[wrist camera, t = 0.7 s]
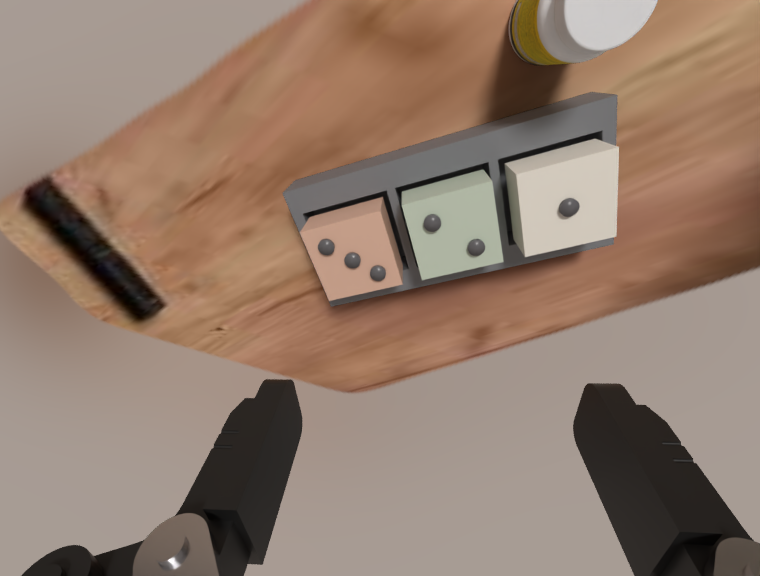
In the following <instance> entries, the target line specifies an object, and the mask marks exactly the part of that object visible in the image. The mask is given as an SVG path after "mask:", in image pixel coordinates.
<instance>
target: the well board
mask: <svg viewBox="0 0 760 576" xmlns="http://www.w3.org/2000/svg"><path fill="white" fill-rule="evenodd" d="M616 127H617V95H614V94H605V93H597V92H590V93H586V94H583V95H579V96H576V97H573V98H569V99H566V100H563V101H559V102H556V103H553V104H549V105H546V106H543V107H539V108H536V109H533V110H529V111H526V112H523V113H519V114H516V115H513V116H509V117H506V118H502V119H499V120H496V121H492V122H489V123H486V124H482V125H479V126H476V127H472V128H469V129H466V130H462V131H459V132H456V133H452V134H449V135H446V136H442V137H439V138H435V139H432V140H429V141H425V142H422V143H419V144H415V145H412V146H409V147H405V148H402V149H399V150H395V151H392V152H389V153H385V154H382V155H379V156H375V157H372V158H369V159H365V160H362V161H358V162H355V163H352V164H348V165H345V166H342V167H338V168H335V169H332V170H328V171H325V172H322V173H318V174H315V175H312V176H308V177H305V178H302V179H298V180H295V181H294V182H293V183H292V184H291V185H290V186H289V187H288V188H287V189H286V190H285V191H284V192H283V196H284V198H285V200H286V203H287V205H288V207H289V210H290V212H291V214H292V217H293V219H294V221H295V224H296V226H297V228H298V230H299V233H300V231H301V230H302V228H303V227H304V225H305V224H306V222H307V221H308V219H309V218H310V217H312V216H315V215H319V214H322V213H326V212H330V211H333V210H337V209H341V208H344V207H348V206H352V205H355V204H359V203H362V202H366V201H370V200H373V199H377V198H381V197H383V199H384V203H385V206H386V210H387V213H388V216H389V220H390V223H391V227H392V230H393V233H394V237H395V240H396V244H397V247H398V250H399V254H400V257H401V261H402V264H403V285H398V286H394V287H390V288H385V289H381V290H376V291H372V292H367V293H363V294H358V295H354V296H349V297H345V298H340V299H336V300H331V301H329V303H330V305H331V307H332V306H336V305H341V304H345V303H350V302H354V301H359V300H363V299H368V298H372V297H377V296H382V295H386V294H391V293H395V292H400V291H404V290H409V289H413V288H418V287H422V286H427V285H431V284H436V283H440V282H445V281H450V280H454V279H459V278H463V277H468V276H472V275H477V274H481V273H486V272H490V271H495V270H499V269H504V268H508V267H513V266H518V265H522V264H527V263H531V262H536V261H540V260H545V259H549V258H554V257H558V256H563V255H567V254H572V253H576V252H581V251H586V250H590V249H595V248H599V247H604V246H608V245H613V244H614V237H613V238H608V239H604V240H599V241H595V242H590V243H586V244H581V245H577V246H573V247H568V248H564V249H559V250H555V251H550V252H546V253H541V254H537V255H532V256H528V257H525V256H524V255H523V253H522V252H521V250H520V248H519V247H518V245H517V244H516V242H515V241H514V239H513V231H512V222H511V214H510V206H509V197H508V189H507V181H506V173H505V164H504V163H508V162H511V161H515V160H519V159H522V158H526V157H530V156H533V155H537V154H541V153H544V152H548V151H551V150H555V149H559V148H562V147H566V146H570V145H573V144H577V143H581V142H584V141H588V140H591V139H598V140H601V141H603V142H606V143H609V144H612V145H615V146H616ZM482 169H483V170H484V171H485V172H486V174H487V175H488V176H489V178H490V179H491V180H492V183H493V190H494V197H495V204H496V211H497V219H498V226H499V233H500V240H501V247H502V254H503V261H504V262H501V263H497V264H492V265H488V266H483V267H479V268H474V269H470V270H465V271H461V272H456V273H452V274H448V275H443V276H439V277H434V278H430V279H425V280H422V278H421V275H420V271H419V267H418V264H417V260H416V256H415V253H414V249H413V245H412V242H411V238H410V234H409V230H408V227H407V223H406V219H405V216H404V212H403V208H402V191H406V190H410V189H413V188H417V187H421V186H424V185H428V184H432V183H435V182H439V181H442V180H446V179H450V178H453V177H457V176H461V175H464V174H468V173H472V172H475V171H479V170H482ZM300 235H301V234H300ZM301 237H302V236H301ZM302 240H303V239H302ZM303 242H304V241H303ZM304 244H305V243H304ZM305 247H306V246H305ZM306 249H307V248H306ZM307 251H308V250H307ZM308 254H309V253H308ZM309 256H310V255H309ZM310 258H311V257H310ZM311 261H312V260H311ZM312 263H313V262H312ZM313 265H314V264H313ZM314 268H315V267H314ZM315 270H316V269H315ZM316 272H317V271H316ZM317 275H318V274H317ZM318 277H319V276H318ZM319 279H320V278H319ZM320 282H321V281H320ZM321 284H322V283H321ZM322 286H323V285H322ZM323 289H324V288H323ZM324 291H325V290H324ZM325 293H326V292H325ZM326 296H327V295H326ZM327 298H328V297H327ZM328 300H329V299H328Z"/></svg>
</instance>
